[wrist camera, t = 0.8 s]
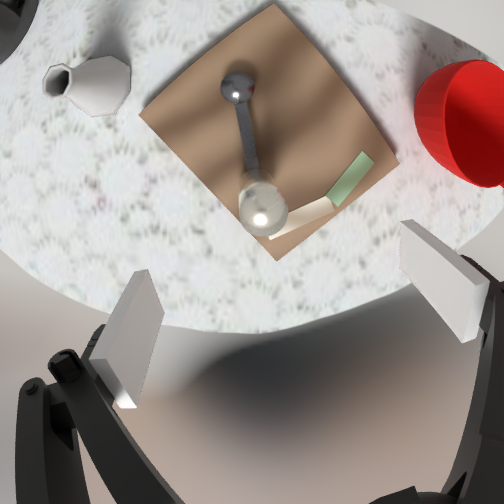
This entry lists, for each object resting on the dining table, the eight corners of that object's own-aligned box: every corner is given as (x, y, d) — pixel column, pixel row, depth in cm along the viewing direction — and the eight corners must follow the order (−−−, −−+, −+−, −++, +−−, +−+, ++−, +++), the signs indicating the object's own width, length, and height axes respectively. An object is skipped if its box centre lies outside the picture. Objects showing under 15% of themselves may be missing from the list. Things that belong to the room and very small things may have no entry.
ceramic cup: (451, 207, 36) (498, 236, 27) (372, 112, 31) (418, 116, 22) (499, 143, 32) (550, 158, 23) (431, 45, 27) (483, 35, 18)
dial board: (142, 114, 30) (137, 115, 29) (272, 7, 26) (273, 3, 24) (275, 255, 38) (276, 261, 36) (393, 161, 33) (400, 164, 32)
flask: (85, 51, 26) (38, 38, 17) (141, 61, 28) (105, 44, 19) (67, 111, 29) (16, 117, 20) (121, 123, 30) (80, 130, 21)
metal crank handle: (216, 77, 28) (206, 61, 19) (252, 70, 27) (259, 52, 18) (247, 228, 34) (250, 271, 25) (280, 221, 34) (296, 263, 25)
